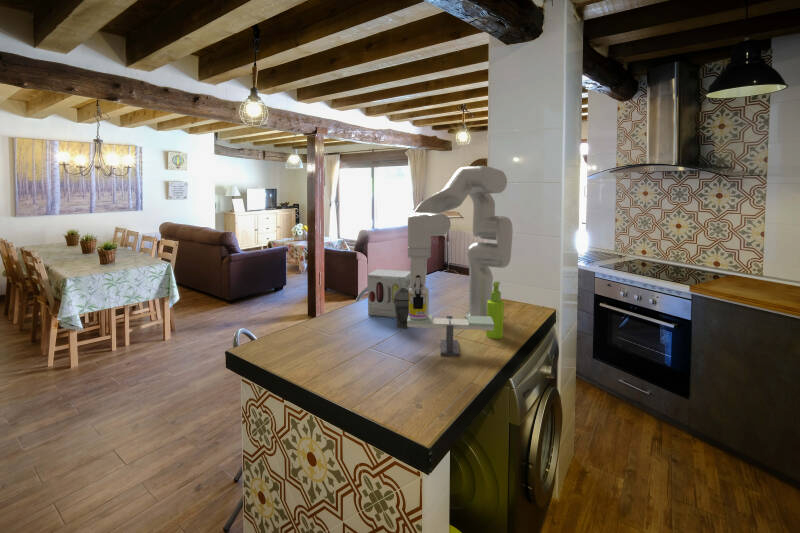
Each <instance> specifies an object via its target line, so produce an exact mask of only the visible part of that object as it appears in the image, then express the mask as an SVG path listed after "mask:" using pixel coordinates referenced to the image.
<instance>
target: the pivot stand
mask: <svg viewBox="0 0 800 533" xmlns="http://www.w3.org/2000/svg"><path fill="white" fill-rule="evenodd" d="M446 318H447V319H448V318H451V319H453V315H446ZM445 330H446V331H445V333H446V334H445V336H446V337H445V338H446V339H440V341H439V342H440V346H439V347H440V348H439V349H440V356H441V357H460V348H459V340H458V339H454V329H453V324H447V328H445Z"/></svg>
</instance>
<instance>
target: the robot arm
mask: <svg viewBox="0 0 800 533" xmlns="http://www.w3.org/2000/svg"><path fill="white" fill-rule="evenodd" d="M507 185H508V178H507V175H506V173H505V172H504V171H503V170H501V169H497V168H494V167H492V166H491V167H490V166H487V165H469V166H468V165H467V166H462V167H461V166H460V167H459V168H458V169H457V170H455V172H454V174H453V175H451V177H450V179H449V180H448V181H447V183H446V184H445V185H444V187H443V188H442V190H440V191H438V192H436V193H434V194H432V195H431V196H429V197H427V198H426V199H424V200H422V201H421V202H420V203H419V204H418V205H417V207H416V208H415V210H414V211H413V213H412V214H411V215H409V216H408V217H407V258H409V259H410V265H409V268H410V269H409V271H410V288H412V287H414V296H413V308H414V309H423V297H422V294H423V288H425V287H426V284H427V273H428V272H427V270H428V268H427V267H428V259H430V258H432V253H431V252H432V251H431V250H432V236H437V237H439V236H444V235H446V234H447V233H448V232H449V231H450V230H451V227H452V225H451V220H450V218H449V216H448V215H446V214H445V212H448V211H451V210H455V209H457V208H459V207H460V206H461V205H462V204H463V202H464V201H465V200H466V198H467V197H468V196H470V198H471V200H472V204H473V215H472V234H473V236H474V237H475V238H476V239H481V240H488V241H489V240H493V241H496V243H493V242H482V241H477V242H473V243H471V244H470V245H469V246H468V249H467V252H466V253H467V255H466V256H467V261H468V268H469V269H468V272H469V278H468V279H469V280H468V311H466V312H464V318H465V319H467V316H487V301H488V300H491V292H492V291H493V283H494V277H493V273H492V270H491V269H490V268H491V267H492V268H499V269H502V268H504V269H505V268H506V267H508V266H509V265H510V262H511V258H512V250H513V248H512V247H513V246H512V244H513V234H514V233H513V229H514V227H513V223H512V221H511V219H510V218H509V217H508V216H502V215H496V214H495V213H496V203H495V200H494V198H493V196H492V194H500V193H503V192H504V191H505V190H506V189H507V188H506V187H507ZM425 283H426V284H425ZM421 284H422V286H421ZM415 286H416V287H415ZM420 286H421V287H420Z"/></svg>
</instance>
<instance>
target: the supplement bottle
mask: <svg viewBox="0 0 800 533" xmlns="http://www.w3.org/2000/svg"><path fill="white" fill-rule="evenodd" d="M426 284H427V282H426V283H425V285H426ZM421 286H422V284H421ZM421 286H420V287H421ZM415 287H416V286H415ZM429 290H430V289H429V288H428V287H427V286H425V288H423V294H422V297H423V309H414V308H413V296H414V287H412V288H410V289H409V317H410V318H411V319H416V320H423V319H426V318H428V316H429V314H430V312H429V310H430V307H429V306H430V305H429V300H430V297H429V296H430V291H429Z"/></svg>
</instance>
